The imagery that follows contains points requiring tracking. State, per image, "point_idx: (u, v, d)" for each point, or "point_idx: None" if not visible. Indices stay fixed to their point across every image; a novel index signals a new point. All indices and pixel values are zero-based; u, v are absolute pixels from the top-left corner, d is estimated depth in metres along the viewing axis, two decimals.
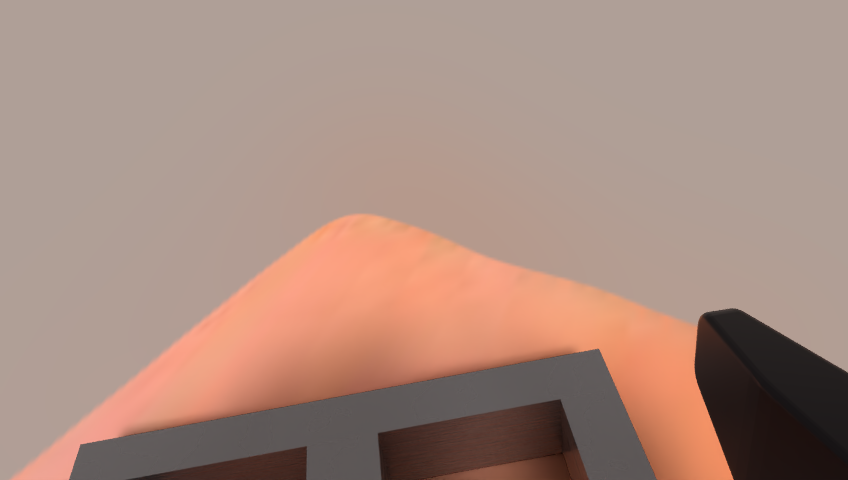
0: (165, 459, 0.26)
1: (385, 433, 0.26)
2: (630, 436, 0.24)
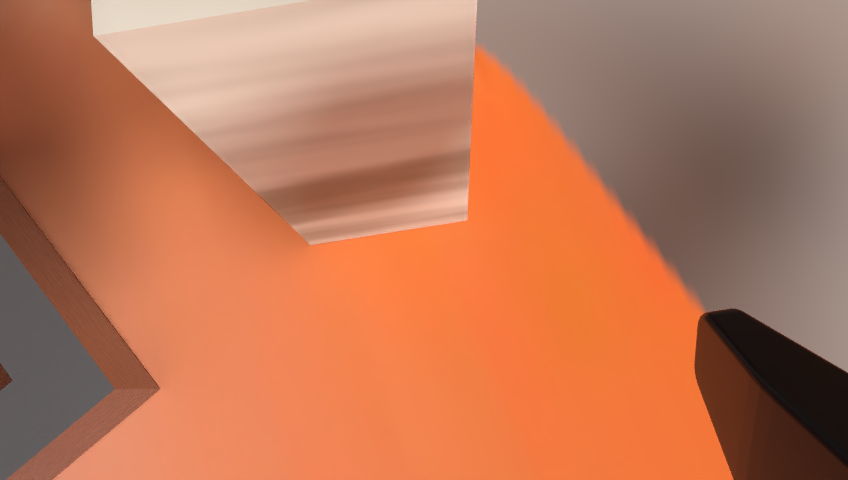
0: None
1: None
2: None
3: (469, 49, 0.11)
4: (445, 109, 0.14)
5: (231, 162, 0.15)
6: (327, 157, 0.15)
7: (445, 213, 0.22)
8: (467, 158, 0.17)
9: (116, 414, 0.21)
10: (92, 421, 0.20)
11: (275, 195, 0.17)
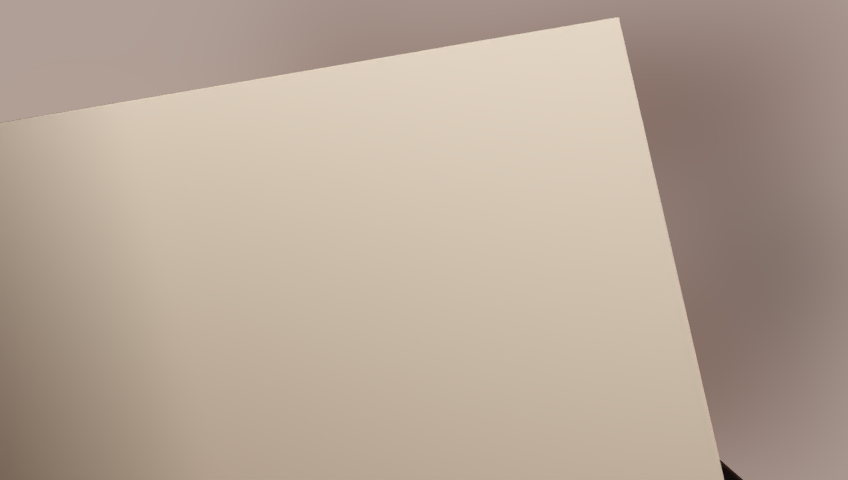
0: None
1: None
2: None
3: None
4: None
5: None
6: None
7: None
8: None
9: None
10: None
11: None
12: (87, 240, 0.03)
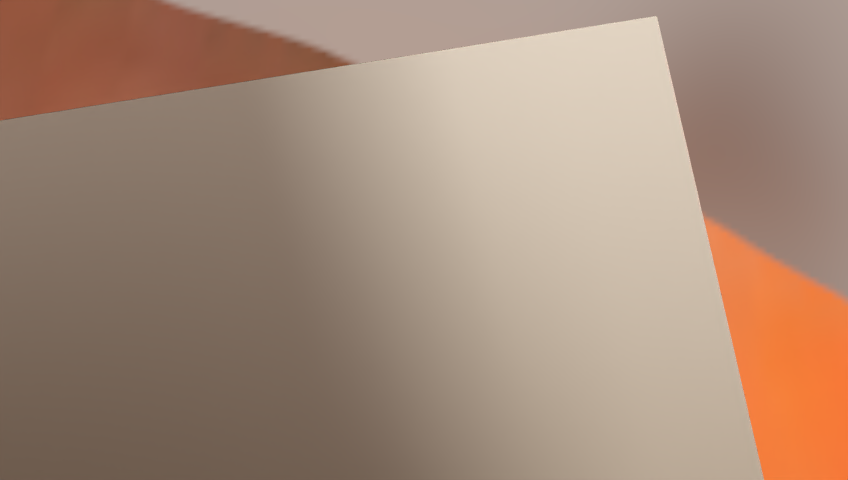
0: None
1: None
2: None
3: None
4: None
5: None
6: None
7: None
8: None
9: None
10: None
11: None
12: (146, 224, 0.03)
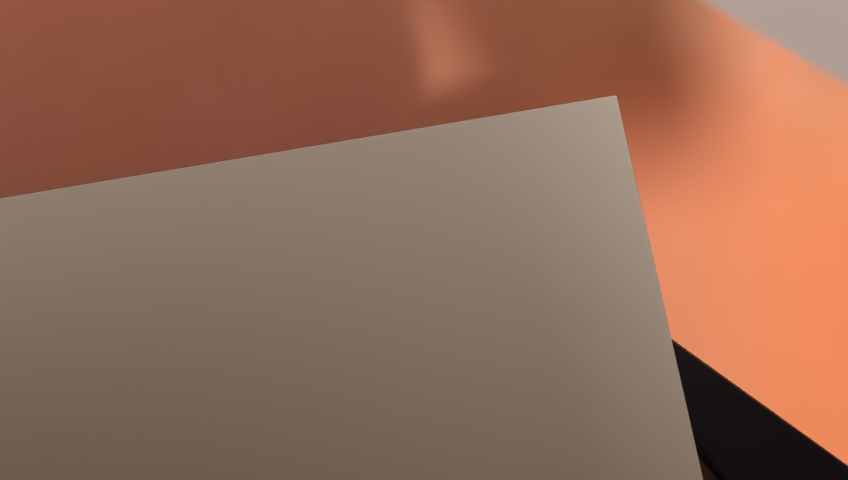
0: None
1: None
2: None
3: None
4: None
5: None
6: None
7: None
8: None
9: None
10: None
11: None
12: (204, 269, 0.03)
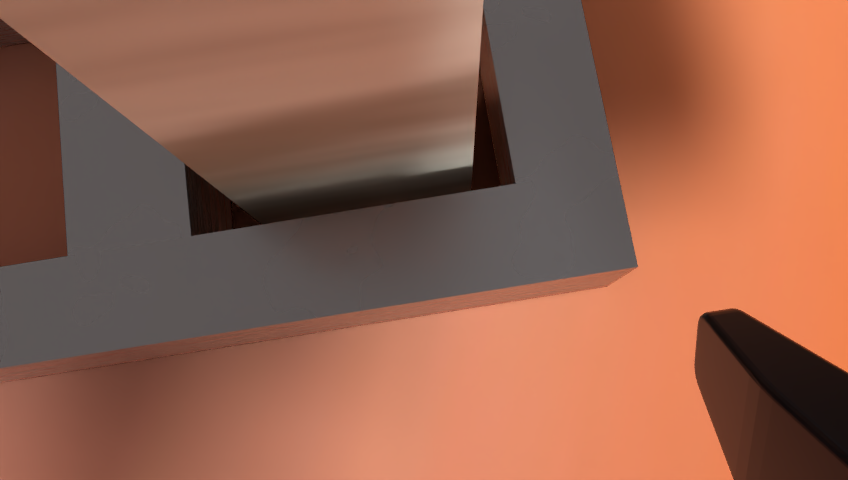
0: None
1: None
2: None
3: None
4: None
5: (97, 86, 0.09)
6: (256, 81, 0.10)
7: (442, 182, 0.16)
8: (473, 91, 0.11)
9: (564, 289, 0.16)
10: (558, 285, 0.15)
11: (192, 150, 0.12)
12: None
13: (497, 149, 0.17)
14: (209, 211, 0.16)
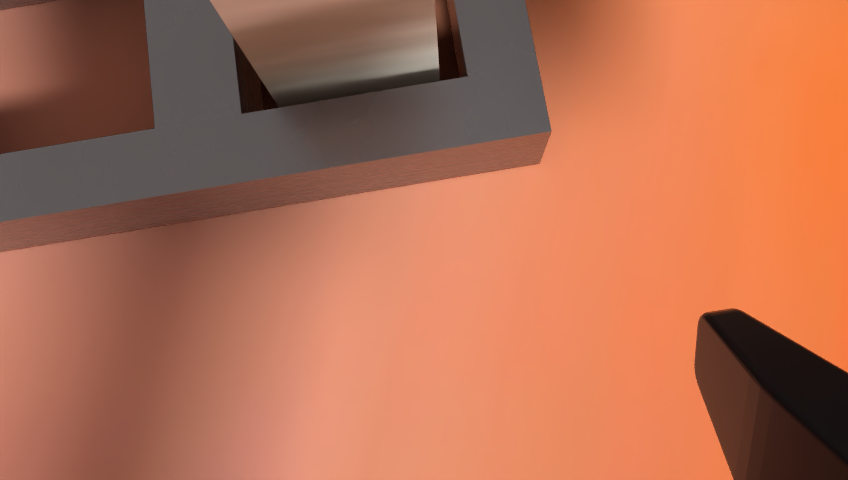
0: None
1: None
2: None
3: None
4: None
5: None
6: None
7: (418, 84, 0.22)
8: None
9: (506, 160, 0.22)
10: (499, 151, 0.21)
11: (249, 39, 0.18)
12: None
13: (459, 63, 0.23)
14: (251, 104, 0.22)
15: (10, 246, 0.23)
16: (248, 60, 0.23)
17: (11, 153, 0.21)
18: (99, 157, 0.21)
